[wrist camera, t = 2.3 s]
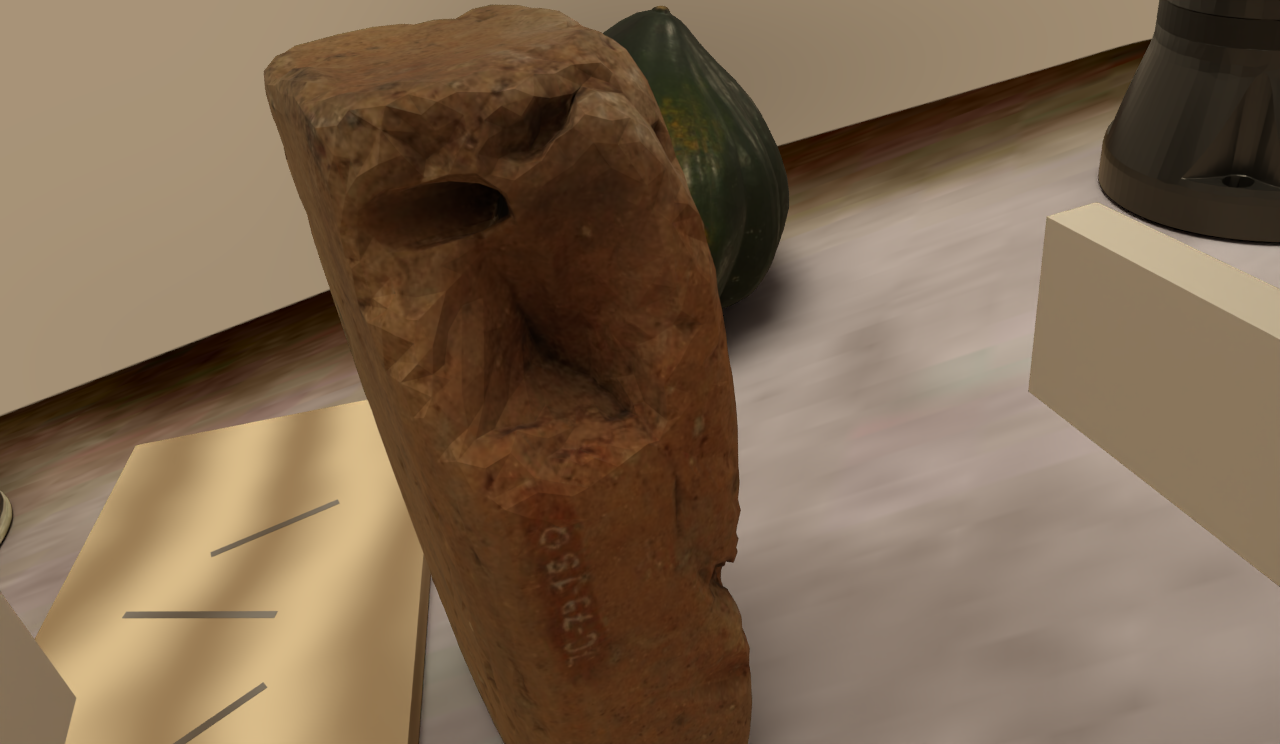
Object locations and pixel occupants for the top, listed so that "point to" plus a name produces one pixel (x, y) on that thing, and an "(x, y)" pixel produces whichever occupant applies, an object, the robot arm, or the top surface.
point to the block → (536, 360)
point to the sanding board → (248, 593)
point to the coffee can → (4, 515)
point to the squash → (714, 148)
